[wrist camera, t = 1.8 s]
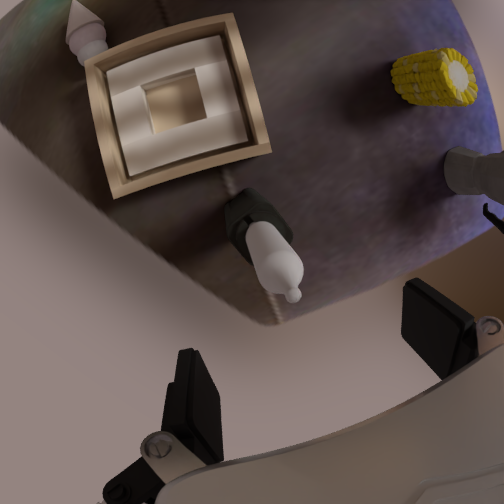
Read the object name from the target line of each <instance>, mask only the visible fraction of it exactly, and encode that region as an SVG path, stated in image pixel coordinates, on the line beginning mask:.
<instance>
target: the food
mask: <svg viewBox="0 0 504 504" xmlns="http://www.w3.org/2000/svg"><path fill="white" fill-rule="evenodd" d="M392 66H393V69H392V70H391V71H390V72H391V76H392V77H393V78H392V83H393V84H394V85H395V86H394V87H395V91H396V92H397V93H398V94H401V97H402V98H403V99H404V100H407V101H408V103H411V104H416V105H426V106H430V105H431V106H437V105H439V106H446V105H447V106H450V107H452V106H465V107H466V106H467V105H468V104H470V105H471V104H472V103H473V102H474V100H475V99H477V94H476V92H477V91H478V87H477V84H475V83H476V79H475V76H474V74H473V72H474V71H473V69H472V67H471V65H470V64H468V60H467V59H466V58H465V57H464V56H462V55H461V54H460V53H459V52H457V51H456V50H454V49H453V48H449V49H448V48H441V49H439V50H437V49H435V50H428V51H425V52H424V51H423V52H421V53H416V54H412V55H409V56H404V57H403V58H398V59H397V62H394V64H393V65H392Z"/></svg>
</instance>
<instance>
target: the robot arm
mask: <svg viewBox="0 0 504 504" xmlns="http://www.w3.org/2000/svg"><path fill="white" fill-rule="evenodd" d="M401 326H402V327H401V335H402V337H403V339H404V340H405V341H406V342H407V343H408V344H409V345H410V346H411V347H412V348H413V349H414V351H416V353H417V354H418V355H419V356H420V357H421V358H422V359H423V360H424V361H425V362H426V363H427V365H428V366H429V367H430V368H431V369H432V370H433V371H434V372H435V373H436V374H437V376H439V378H440V379H441V380H442V381H440V382H439V383H437V384H435V385H434V386H432V387H430V388H429V389H427V390H425V391H423V392H421V393H420V394H418V395H416V396H414V397H412V398H411V399H409V400H407V401H405V402H403V403H401V404H399V405H397V406H395V407H393V408H391V409H389V410H387V411H384V412H383V413H380V414H378V415H376V416H374V417H371V418H369V419H367V420H364V421H362V422H360V423H357V424H355V425H352V426H350V427H347V428H345V429H342V430H339V431H336V432H334V433H331V434H328V435H325V436H322V437H319V438H316V439H313V440H310V441H307V442H303V443H300V444H296V445H293V446H290V447H285V448H282V449H278V450H274V451H270V452H266V453H262V454H258V455H253V456H249V457H243V458H239V459H234V460H229V461H225V462H222V461H224V454H223V440H222V425H221V405H220V396H219V392H218V390H217V388H216V386H215V384H214V382H213V380H212V378H211V376H210V374H209V372H208V370H207V368H206V366H205V364H204V361H203V359H202V357H201V355H200V353H199V351H198V350H195V351H194V349H193V348H189V349H184V350H180V351H179V354H178V359H177V365H176V372H175V379H174V382H172V383H169V384H168V387H167V393H166V399H165V405H164V412H163V419H162V426H161V431H158V432H154V433H152V434H150V435H148V436H147V437H146V438H145V439H144V440H143V442H142V443H141V447H140V451H141V455H142V457H141V458H139V459H138V460H137V461H136V462H134V463H133V464H131V465H130V466H129V467H127V468H126V469H125V470H124V471H122V472H121V473H120V474H118V475H117V476H115V477H114V478H113V479H111V480H110V481H109V482H108V483H107V484H106V485H105V487H104V488H103V498H104V500H103V502H102V503H99V502H98V503H97V504H504V325H503V323H502V322H501V321H500V320H499V319H497V318H495V317H492V316H486V317H482V318H480V319H479V320H478V321H477V323H475V322H474V317H473V316H472V315H471V314H469V313H468V312H466V311H465V310H464V309H463V308H461V307H460V306H458V305H457V304H456V303H454V302H453V301H451V300H450V299H448V298H447V297H446V296H444V295H443V294H441V293H440V292H438V291H437V290H435V289H434V288H433V287H431V286H430V285H428V284H427V283H425V282H424V281H422V280H421V279H419V278H414V279H411V280H409V281H407V282H406V283H405V286H404V287H403V307H402V325H401Z"/></svg>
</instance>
